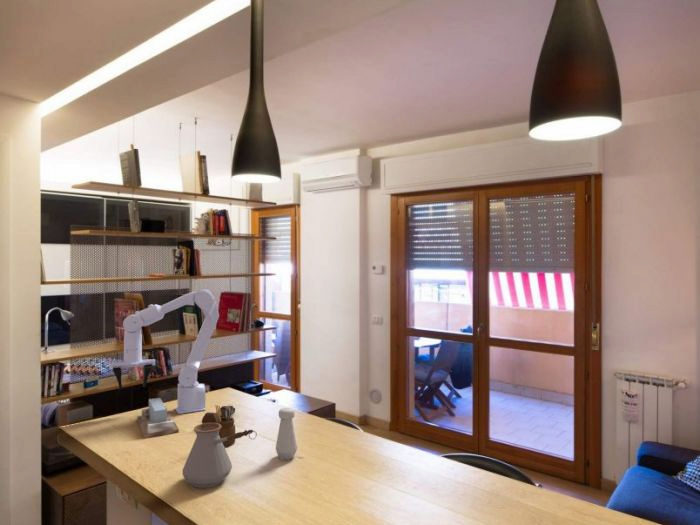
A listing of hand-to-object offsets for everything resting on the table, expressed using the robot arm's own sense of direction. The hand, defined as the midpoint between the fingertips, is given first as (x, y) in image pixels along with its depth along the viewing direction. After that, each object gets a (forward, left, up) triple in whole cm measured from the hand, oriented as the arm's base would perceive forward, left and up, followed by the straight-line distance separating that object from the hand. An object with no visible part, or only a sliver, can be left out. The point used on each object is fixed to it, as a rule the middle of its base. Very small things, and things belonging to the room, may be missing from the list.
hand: (132, 387), depth 161 cm
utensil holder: (-21, +43, -10) cm, 49 cm away
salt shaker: (-33, +61, -10) cm, 70 cm away
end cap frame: (-6, +16, -9) cm, 20 cm away
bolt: (-25, +23, -10) cm, 35 cm away
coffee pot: (-13, +69, -10) cm, 71 cm away
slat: (-6, +16, -8) cm, 19 cm away
